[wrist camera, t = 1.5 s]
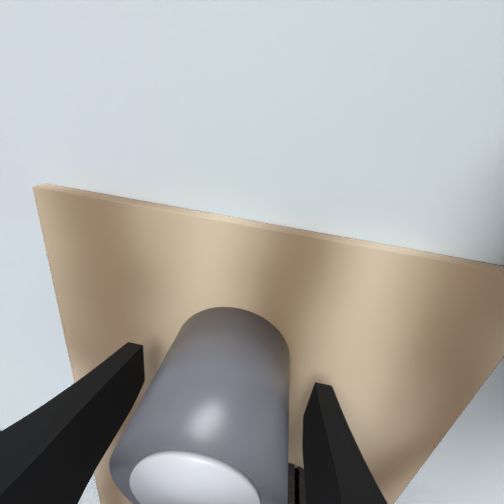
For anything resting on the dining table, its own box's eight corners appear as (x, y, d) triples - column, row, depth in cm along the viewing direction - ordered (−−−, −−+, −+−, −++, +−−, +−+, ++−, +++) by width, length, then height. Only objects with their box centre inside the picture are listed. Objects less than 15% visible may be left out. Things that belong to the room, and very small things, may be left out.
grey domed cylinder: (175, 381, 13) (111, 520, 9) (178, 295, 11) (96, 419, 7) (277, 404, 13) (269, 560, 8) (301, 320, 11) (307, 469, 6)
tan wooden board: (106, 497, 21) (101, 507, 21) (46, 183, 11) (32, 186, 10) (343, 557, 20) (344, 569, 19) (544, 273, 9) (558, 282, 9)
